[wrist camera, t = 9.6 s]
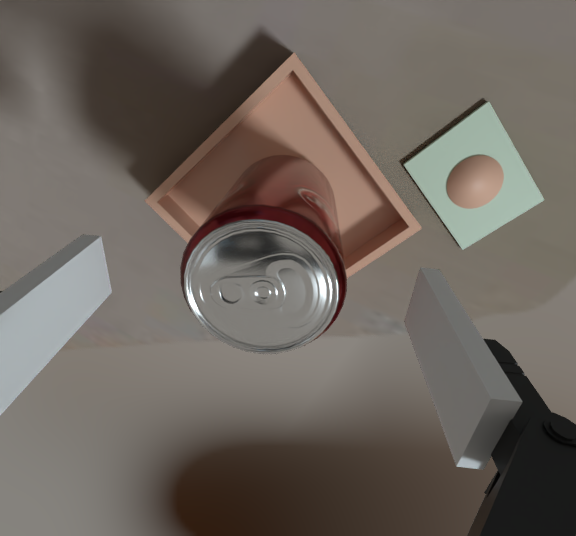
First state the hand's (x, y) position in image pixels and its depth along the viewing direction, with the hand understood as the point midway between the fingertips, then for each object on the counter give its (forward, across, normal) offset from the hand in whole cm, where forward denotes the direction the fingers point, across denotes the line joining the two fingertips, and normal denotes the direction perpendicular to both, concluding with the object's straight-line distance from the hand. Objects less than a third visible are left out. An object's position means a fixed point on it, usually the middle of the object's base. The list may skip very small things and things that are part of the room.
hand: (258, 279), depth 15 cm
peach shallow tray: (+12, 0, -1) cm, 12 cm away
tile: (+12, +13, +2) cm, 18 cm away
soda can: (+12, 0, -1) cm, 12 cm away
